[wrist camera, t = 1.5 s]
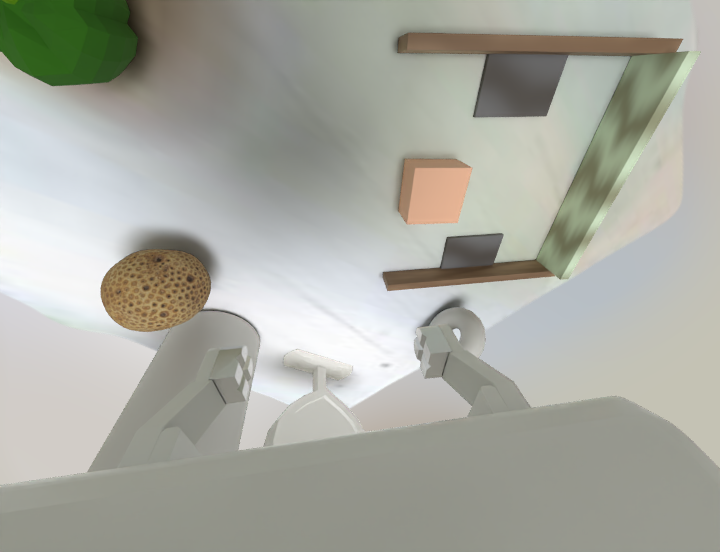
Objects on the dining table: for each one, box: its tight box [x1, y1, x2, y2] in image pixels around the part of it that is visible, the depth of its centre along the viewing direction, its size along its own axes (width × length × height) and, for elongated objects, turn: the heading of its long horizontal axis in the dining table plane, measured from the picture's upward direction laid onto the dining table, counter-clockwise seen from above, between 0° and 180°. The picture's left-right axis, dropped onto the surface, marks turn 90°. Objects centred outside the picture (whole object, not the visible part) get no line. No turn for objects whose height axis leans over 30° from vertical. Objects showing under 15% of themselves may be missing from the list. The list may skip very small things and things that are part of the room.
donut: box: [429, 307, 486, 358], centre depth 41 cm, size 10×4×10 cm, turn 142°
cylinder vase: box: [87, 311, 260, 473], centre depth 31 cm, size 12×12×25 cm
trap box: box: [383, 33, 701, 291], centre depth 30 cm, size 26×25×5 cm
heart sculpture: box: [263, 349, 365, 447], centre depth 41 cm, size 16×5×18 cm, turn 55°
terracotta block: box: [398, 159, 472, 224], centre depth 30 cm, size 6×6×4 cm
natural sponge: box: [101, 249, 211, 332], centre depth 29 cm, size 9×9×10 cm
